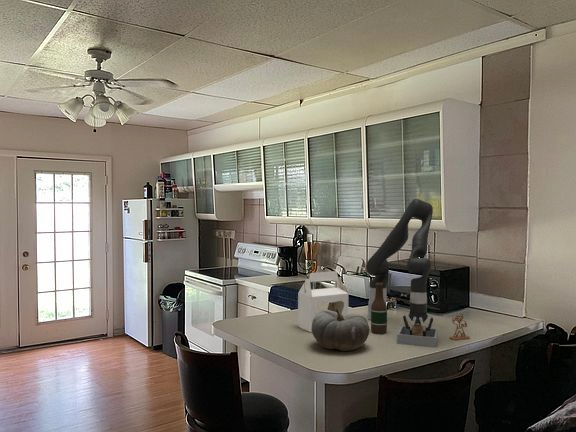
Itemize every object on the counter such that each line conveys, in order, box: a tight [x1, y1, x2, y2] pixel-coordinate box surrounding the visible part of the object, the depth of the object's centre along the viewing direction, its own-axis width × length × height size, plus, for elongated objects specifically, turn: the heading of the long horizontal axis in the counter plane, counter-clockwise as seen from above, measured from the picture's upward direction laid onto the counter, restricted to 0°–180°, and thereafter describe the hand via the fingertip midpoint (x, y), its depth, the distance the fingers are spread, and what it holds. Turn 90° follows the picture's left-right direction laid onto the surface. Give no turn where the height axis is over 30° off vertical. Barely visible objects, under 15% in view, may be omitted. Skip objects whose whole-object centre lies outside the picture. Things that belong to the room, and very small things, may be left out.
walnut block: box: [412, 324, 423, 336], centre depth 225 cm, size 4×4×7 cm
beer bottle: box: [370, 283, 388, 335], centre depth 239 cm, size 8×8×24 cm
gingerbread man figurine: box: [448, 312, 471, 341], centre depth 229 cm, size 9×4×12 cm, turn 112°
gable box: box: [297, 270, 349, 334], centre depth 248 cm, size 22×13×28 cm, turn 118°
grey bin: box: [396, 325, 439, 348], centre depth 225 cm, size 17×17×4 cm
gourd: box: [311, 308, 371, 352], centre depth 215 cm, size 25×25×17 cm
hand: (417, 338), depth 225 cm, fingers closed on walnut block, 4 cm apart
